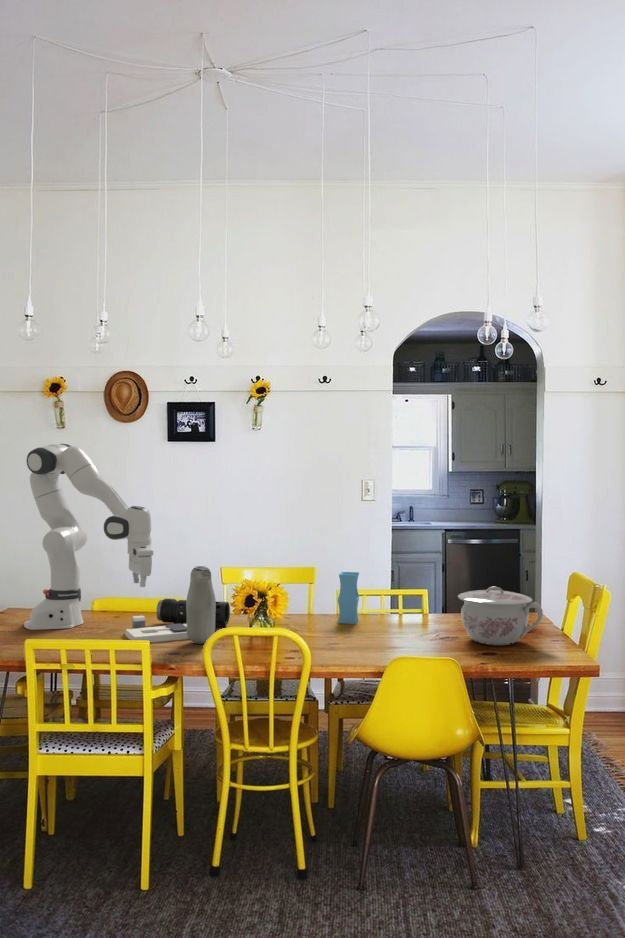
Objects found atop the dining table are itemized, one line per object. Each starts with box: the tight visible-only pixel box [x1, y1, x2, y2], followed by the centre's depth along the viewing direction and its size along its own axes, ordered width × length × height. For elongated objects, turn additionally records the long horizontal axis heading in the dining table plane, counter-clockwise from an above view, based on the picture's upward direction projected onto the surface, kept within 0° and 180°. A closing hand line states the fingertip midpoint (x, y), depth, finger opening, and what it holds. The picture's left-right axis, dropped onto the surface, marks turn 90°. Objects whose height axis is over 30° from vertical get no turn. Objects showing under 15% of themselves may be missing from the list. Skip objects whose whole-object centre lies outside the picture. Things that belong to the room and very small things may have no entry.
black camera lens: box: [155, 598, 231, 628], centre depth 325 cm, size 10×28×10 cm, turn 81°
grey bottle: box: [186, 565, 217, 645], centre depth 295 cm, size 10×10×28 cm
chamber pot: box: [457, 586, 544, 647], centre depth 303 cm, size 28×28×21 cm
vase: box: [337, 571, 360, 625], centre depth 336 cm, size 8×8×20 cm
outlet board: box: [125, 623, 190, 644], centre depth 304 cm, size 24×14×3 cm, turn 117°
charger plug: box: [131, 615, 146, 629], centre depth 311 cm, size 4×4×6 cm
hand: (139, 584), depth 311 cm, fingers open, 8 cm apart
